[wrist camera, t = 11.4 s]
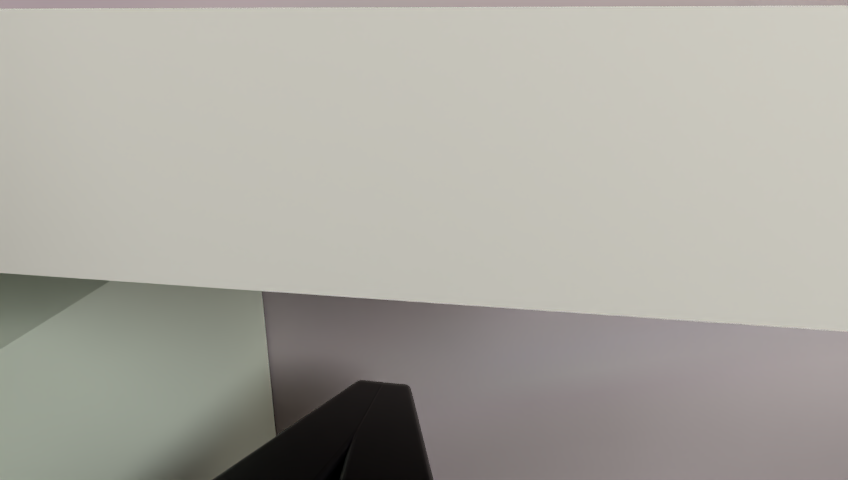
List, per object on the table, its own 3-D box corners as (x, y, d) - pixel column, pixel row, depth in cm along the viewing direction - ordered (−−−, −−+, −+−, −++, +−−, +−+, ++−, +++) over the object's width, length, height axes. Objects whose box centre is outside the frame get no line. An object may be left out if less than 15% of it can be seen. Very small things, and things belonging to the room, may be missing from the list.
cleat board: (635, 628, 10) (727, 1120, 6) (-83, 526, 12) (-440, 824, 8) (740, 16, 7) (1178, 4, 2) (-275, 17, 9) (-1115, 12, 4)
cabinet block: (283, 517, 11) (102, 891, 6) (37, 484, 12) (-293, 797, 7) (252, 192, 9) (-61, 387, 4) (-47, 177, 9) (-603, 328, 5)
